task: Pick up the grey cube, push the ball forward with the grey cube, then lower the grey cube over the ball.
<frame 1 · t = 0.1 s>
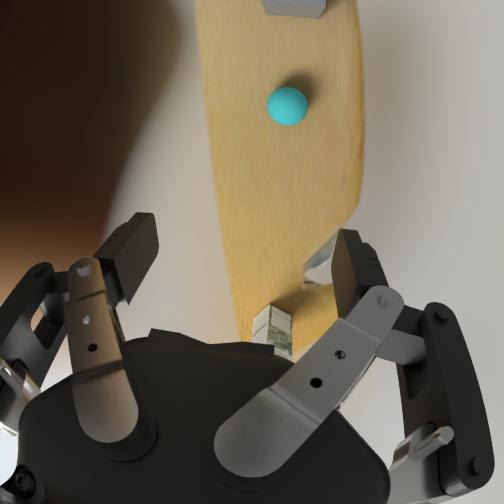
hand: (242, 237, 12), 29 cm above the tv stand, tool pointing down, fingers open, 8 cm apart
ball: (287, 106, 32), on the tv stand
syrup box: (273, 315, 57), on the tv stand
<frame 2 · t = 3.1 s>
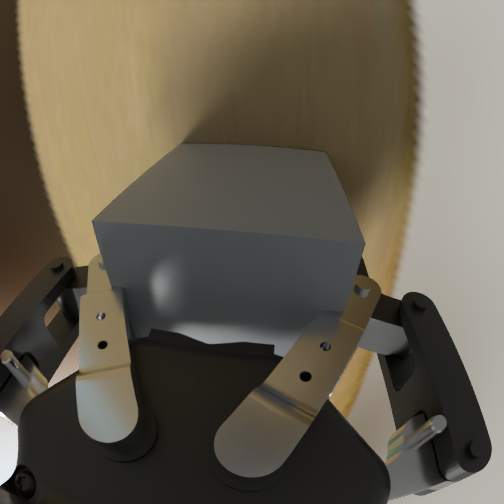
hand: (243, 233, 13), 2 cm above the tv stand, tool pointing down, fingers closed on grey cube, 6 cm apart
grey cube: (249, 210, 14), on the tv stand, touching gripper
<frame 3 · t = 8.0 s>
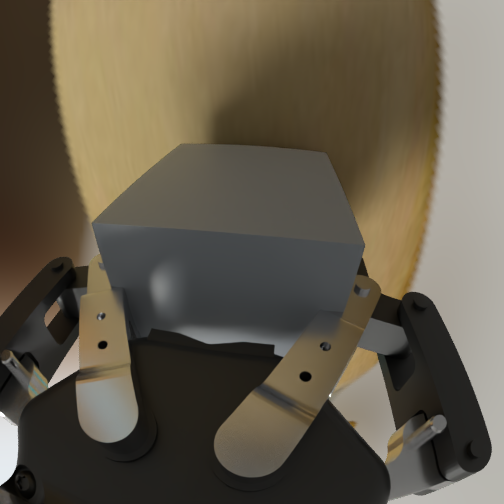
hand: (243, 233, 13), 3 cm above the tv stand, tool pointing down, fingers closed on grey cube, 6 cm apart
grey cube: (249, 210, 14), point 1 cm above the tv stand, touching gripper
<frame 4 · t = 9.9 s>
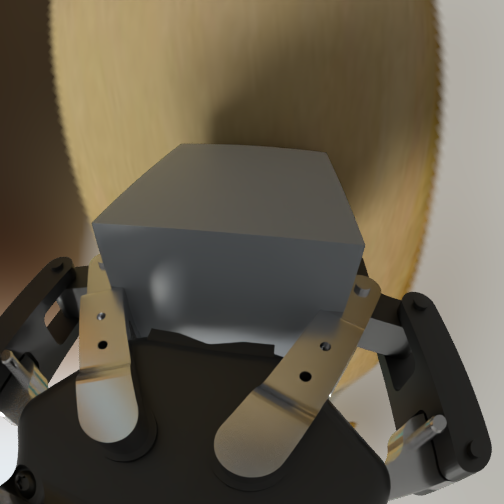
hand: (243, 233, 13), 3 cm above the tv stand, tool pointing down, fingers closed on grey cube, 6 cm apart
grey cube: (249, 210, 14), point 1 cm above the tv stand, touching gripper
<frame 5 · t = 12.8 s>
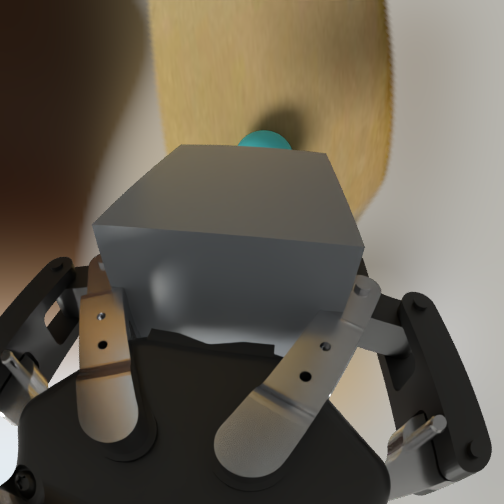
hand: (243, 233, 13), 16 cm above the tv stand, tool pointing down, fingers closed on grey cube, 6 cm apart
ball: (264, 159, 24), on the tv stand
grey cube: (249, 211, 14), point 14 cm above the tv stand, touching gripper
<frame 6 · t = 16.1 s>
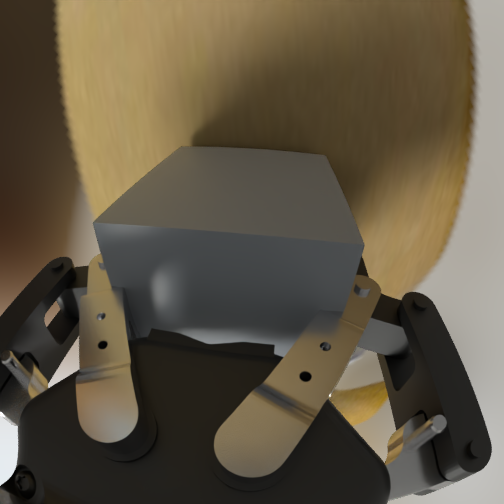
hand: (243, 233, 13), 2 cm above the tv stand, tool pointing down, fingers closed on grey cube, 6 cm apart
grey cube: (249, 213, 14), point 1 cm above the tv stand, touching gripper
when the fingers open (2 cm above the tv stand, at t = 16.7 s): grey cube stays where it is, on the tv stand.
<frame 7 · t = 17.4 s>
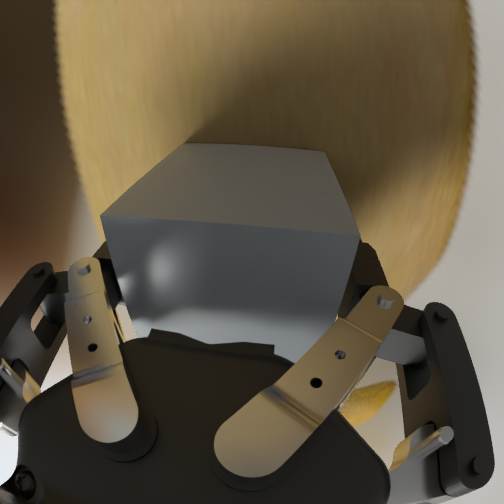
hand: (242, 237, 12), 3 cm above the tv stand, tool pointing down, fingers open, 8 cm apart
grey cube: (250, 208, 15), on the tv stand
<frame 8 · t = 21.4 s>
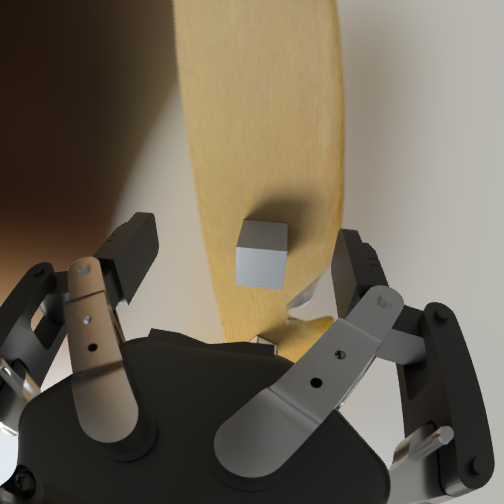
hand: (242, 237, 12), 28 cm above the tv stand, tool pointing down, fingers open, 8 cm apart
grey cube: (264, 239, 46), on the tv stand
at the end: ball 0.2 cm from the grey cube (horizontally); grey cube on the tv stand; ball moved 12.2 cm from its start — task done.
